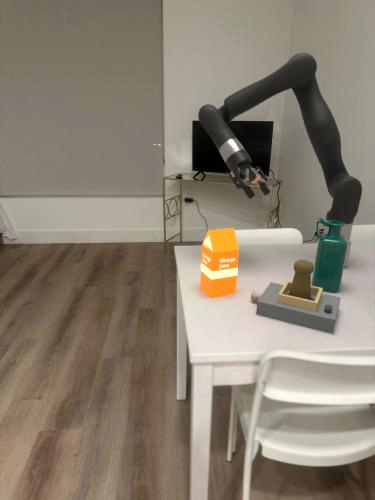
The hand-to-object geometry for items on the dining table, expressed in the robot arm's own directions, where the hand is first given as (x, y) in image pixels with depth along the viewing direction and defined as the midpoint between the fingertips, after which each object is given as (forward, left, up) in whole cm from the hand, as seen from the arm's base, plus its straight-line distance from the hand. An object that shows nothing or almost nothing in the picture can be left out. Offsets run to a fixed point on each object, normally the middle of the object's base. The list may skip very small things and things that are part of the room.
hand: (260, 195), depth 116 cm
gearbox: (+4, +26, -28) cm, 38 cm away
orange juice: (+17, +7, -28) cm, 34 cm away
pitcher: (-17, +16, -28) cm, 36 cm away
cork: (+3, +27, -24) cm, 36 cm away
